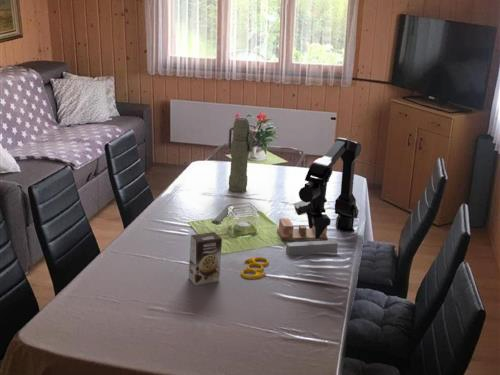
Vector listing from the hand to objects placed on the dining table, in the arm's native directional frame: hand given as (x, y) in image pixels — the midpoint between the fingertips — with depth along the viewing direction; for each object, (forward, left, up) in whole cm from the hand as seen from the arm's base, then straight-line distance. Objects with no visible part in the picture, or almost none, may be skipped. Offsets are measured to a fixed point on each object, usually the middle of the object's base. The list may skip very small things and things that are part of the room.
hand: (313, 233), depth 231 cm
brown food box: (+44, +20, -8) cm, 49 cm away
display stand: (0, -15, -8) cm, 17 cm away
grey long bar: (0, 0, -8) cm, 8 cm away
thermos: (+19, -69, -8) cm, 72 cm away
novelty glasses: (+25, +13, -9) cm, 29 cm away
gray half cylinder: (+30, -37, -9) cm, 48 cm away
